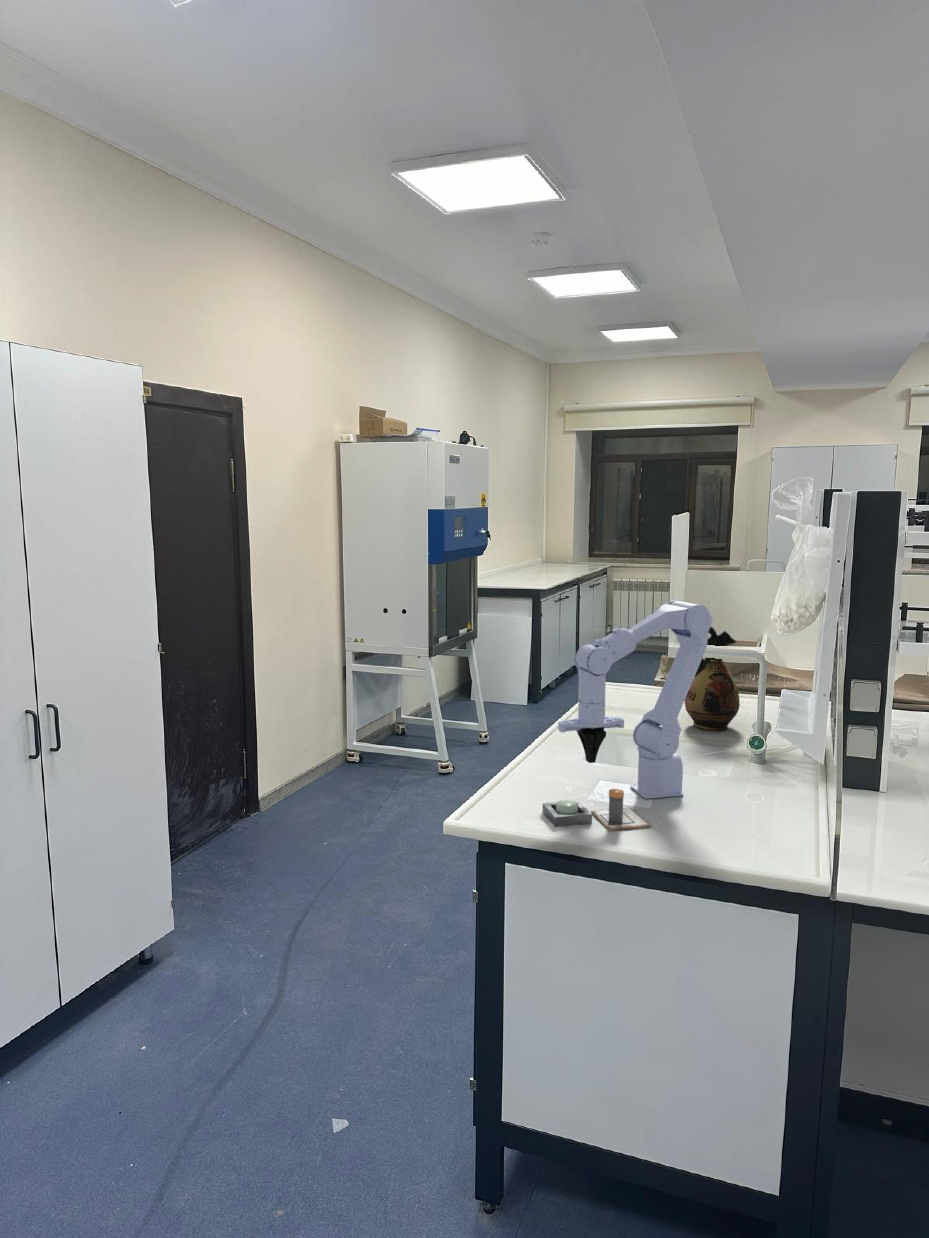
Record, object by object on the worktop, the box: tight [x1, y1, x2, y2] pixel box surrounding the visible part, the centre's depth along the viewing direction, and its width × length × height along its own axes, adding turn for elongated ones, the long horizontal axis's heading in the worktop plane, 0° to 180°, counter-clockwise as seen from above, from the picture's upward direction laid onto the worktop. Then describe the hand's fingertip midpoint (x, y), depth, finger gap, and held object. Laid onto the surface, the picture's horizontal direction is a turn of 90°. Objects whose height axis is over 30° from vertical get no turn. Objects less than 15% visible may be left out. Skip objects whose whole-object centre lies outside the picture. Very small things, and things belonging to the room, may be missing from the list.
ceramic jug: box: [684, 626, 741, 732], centre depth 237 cm, size 17×15×30 cm
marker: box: [608, 788, 625, 825], centre depth 166 cm, size 3×3×6 cm
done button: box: [556, 799, 578, 815], centre depth 170 cm, size 5×5×3 cm
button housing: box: [542, 799, 593, 828], centre depth 170 cm, size 8×8×2 cm
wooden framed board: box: [590, 807, 652, 832], centre depth 169 cm, size 9×10×1 cm
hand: (590, 761), depth 178 cm, fingers closed
